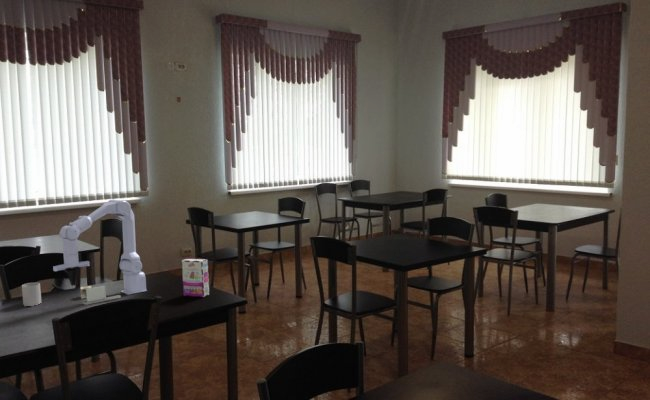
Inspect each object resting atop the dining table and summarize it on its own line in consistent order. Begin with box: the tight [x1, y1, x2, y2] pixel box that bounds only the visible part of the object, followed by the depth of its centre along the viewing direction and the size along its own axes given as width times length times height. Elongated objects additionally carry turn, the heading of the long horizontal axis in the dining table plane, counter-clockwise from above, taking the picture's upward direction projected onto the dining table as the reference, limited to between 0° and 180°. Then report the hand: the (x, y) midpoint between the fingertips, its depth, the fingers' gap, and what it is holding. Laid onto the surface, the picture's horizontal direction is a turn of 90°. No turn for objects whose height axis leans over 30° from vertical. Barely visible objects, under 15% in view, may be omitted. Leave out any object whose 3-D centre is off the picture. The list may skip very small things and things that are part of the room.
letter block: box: [80, 285, 92, 300], centre depth 273 cm, size 4×5×4 cm
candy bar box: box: [181, 258, 210, 298], centre depth 270 cm, size 11×5×16 cm, turn 68°
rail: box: [82, 294, 122, 306], centre depth 266 cm, size 16×2×1 cm, turn 131°
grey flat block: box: [85, 285, 107, 302], centre depth 264 cm, size 8×1×6 cm, turn 131°
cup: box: [21, 282, 42, 307], centre depth 264 cm, size 7×10×9 cm
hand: (73, 285), depth 257 cm, fingers closed
